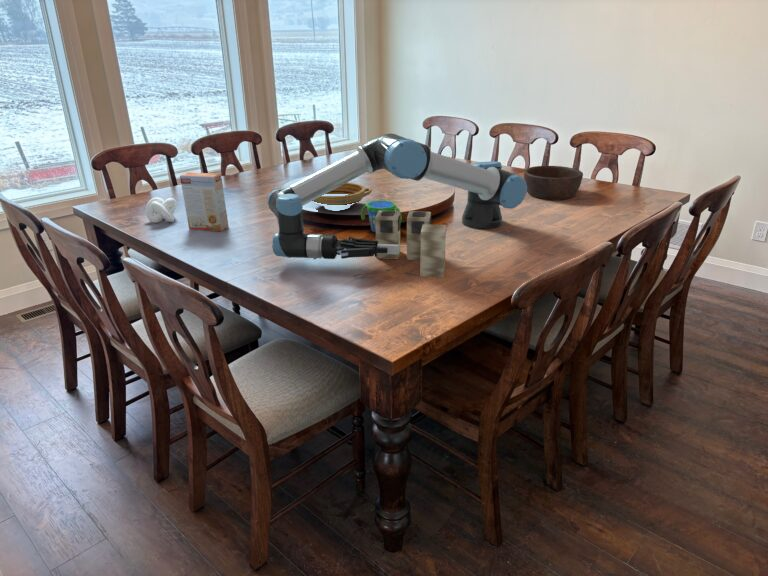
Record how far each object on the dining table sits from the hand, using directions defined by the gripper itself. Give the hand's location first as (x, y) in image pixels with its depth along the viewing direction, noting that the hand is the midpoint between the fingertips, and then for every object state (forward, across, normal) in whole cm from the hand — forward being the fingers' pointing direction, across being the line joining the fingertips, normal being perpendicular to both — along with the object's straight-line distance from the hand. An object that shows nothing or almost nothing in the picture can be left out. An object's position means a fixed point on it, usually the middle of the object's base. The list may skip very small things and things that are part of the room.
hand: (398, 249), depth 168 cm
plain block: (+10, 0, -7) cm, 12 cm away
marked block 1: (+5, -13, -7) cm, 16 cm away
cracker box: (-77, -33, -7) cm, 84 cm away
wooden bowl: (+57, -94, -7) cm, 110 cm away
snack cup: (-11, -37, -7) cm, 39 cm away
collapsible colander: (-34, -65, -7) cm, 74 cm away
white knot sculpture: (-99, -41, -7) cm, 107 cm away
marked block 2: (-5, -13, -7) cm, 16 cm away
